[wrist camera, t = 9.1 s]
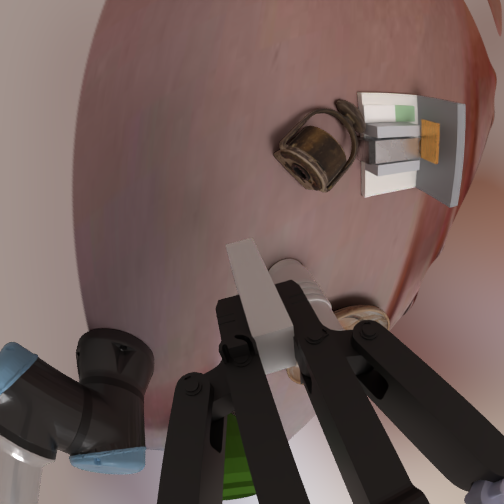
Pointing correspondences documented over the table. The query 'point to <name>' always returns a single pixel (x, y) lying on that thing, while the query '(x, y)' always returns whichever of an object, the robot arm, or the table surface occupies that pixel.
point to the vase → (236, 465)
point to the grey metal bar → (401, 146)
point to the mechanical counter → (320, 149)
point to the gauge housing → (409, 124)
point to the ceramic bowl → (349, 326)
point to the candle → (306, 289)
